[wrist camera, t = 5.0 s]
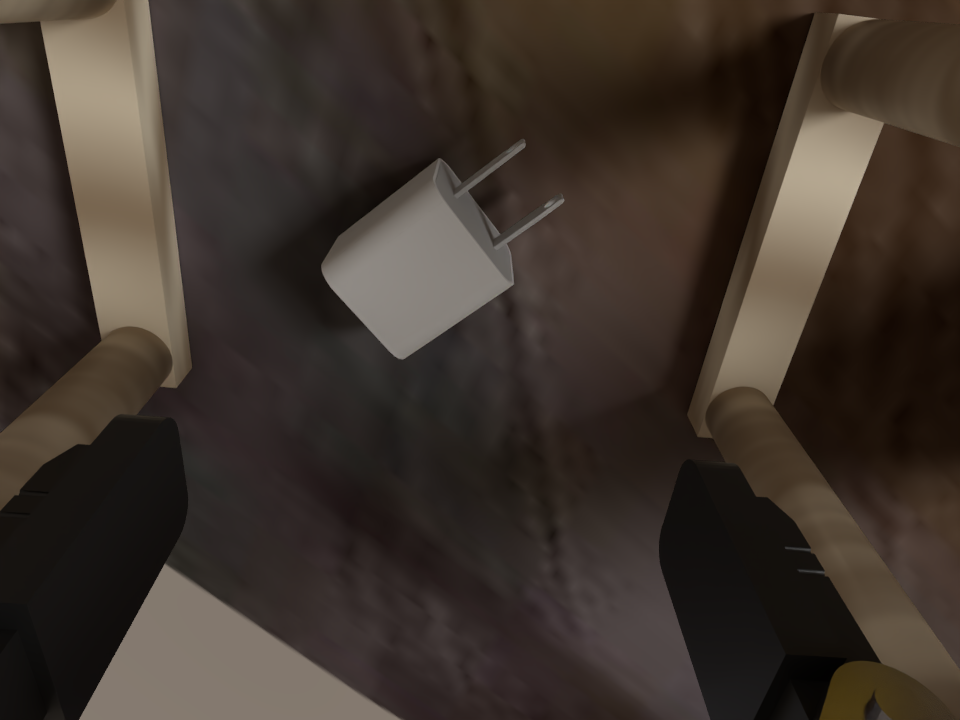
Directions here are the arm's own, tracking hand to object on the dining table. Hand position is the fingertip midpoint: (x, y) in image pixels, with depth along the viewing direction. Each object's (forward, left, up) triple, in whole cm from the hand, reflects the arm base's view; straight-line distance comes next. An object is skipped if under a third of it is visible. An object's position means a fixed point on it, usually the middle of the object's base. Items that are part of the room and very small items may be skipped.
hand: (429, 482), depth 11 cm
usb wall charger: (0, 0, -14) cm, 14 cm away
